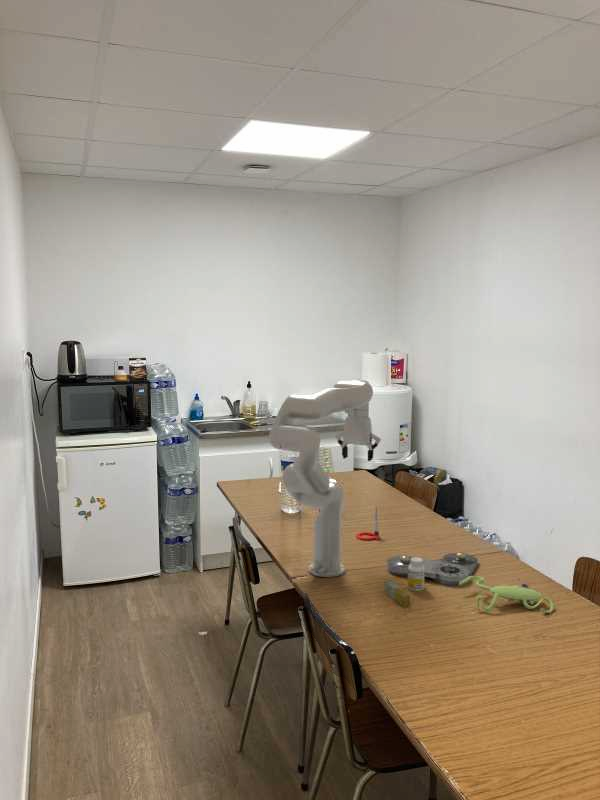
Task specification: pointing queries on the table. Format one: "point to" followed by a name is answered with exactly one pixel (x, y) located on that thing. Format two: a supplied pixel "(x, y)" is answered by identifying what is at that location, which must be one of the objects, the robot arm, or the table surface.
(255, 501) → the table surface
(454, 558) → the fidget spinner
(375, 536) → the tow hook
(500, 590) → the figurine
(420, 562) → the supplement bottle
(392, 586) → the medication box
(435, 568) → the upper chain link
